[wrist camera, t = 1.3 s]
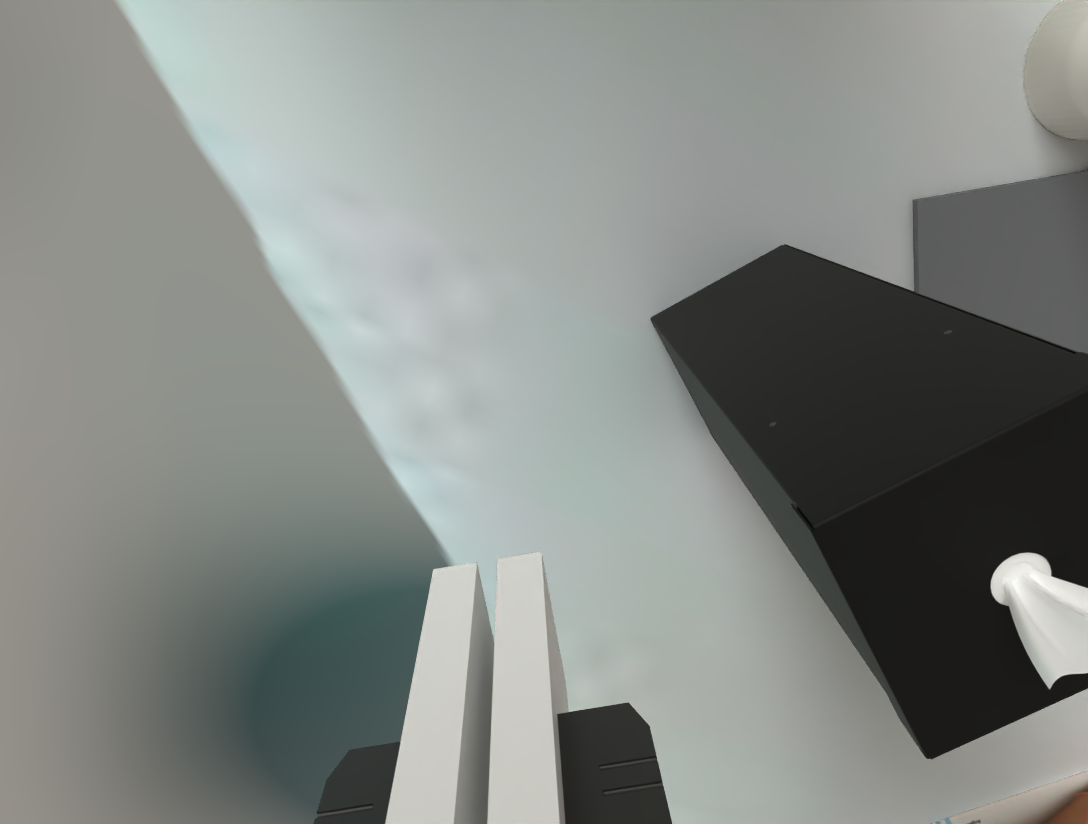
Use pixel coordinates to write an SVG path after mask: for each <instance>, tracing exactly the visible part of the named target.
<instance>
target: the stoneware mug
mask: <svg viewBox="0 0 1088 824" xmlns="http://www.w3.org/2000/svg"><path fill="white" fill-rule="evenodd" d="M1023 86H1024V92H1025V97H1026V100H1027V103H1028V105H1029V107H1030V110H1031V112H1032V113H1033V115H1034V116H1035V118H1036V119H1037V120H1038V121H1039V122H1040V123H1041V124H1042V125H1043V126H1044V127H1045V128H1046V129H1048V130H1049V131H1051V132H1053V133H1054V134H1056V135H1059V136H1062V137H1064V138H1069V139H1080V140H1088V0H1062V1H1061V2H1060V3H1059V4H1058V5H1056V6H1055V7H1054V8H1053V9H1052V10H1051V11H1050V12H1049V14H1048V15H1047V16H1046V17H1045V18H1044V20H1043V21H1042V22H1041V24H1040V25H1039V27H1038V28H1037V30H1036V32H1035V34H1034V35H1033V38H1032V40H1031V42H1030V44H1029V47H1028V50H1027V53H1026V57H1025V62H1024V70H1023Z"/></svg>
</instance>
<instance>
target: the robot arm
mask: <svg viewBox="0 0 1088 824" xmlns="http://www.w3.org/2000/svg"><path fill="white" fill-rule="evenodd" d="M314 824H672V821H671V817H670V812H669V808H668V804H667V800H666V795H665V791H664V787H663V783H662V778H661V774H660V770H659V765H658V762H657V757H656V752H655V748H654V744H653V739H652V735H651V731H650V727H649V725H648V724H647V723H646V722H645V720H644V719H643V718H642V717H641V716H640V715H639V714H638V713H637V712H636V710H635V709H634V708H633V707H632V706H631V705H630V704H629V703H623V704H617V705H611V706H604V707H598V708H592V709H586V710H579V711H573V712H568V701H567V691H566V682H565V677H564V671H563V666H562V661H561V655H560V650H559V644H558V639H557V634H556V628H555V623H554V617H553V612H552V606H551V601H550V596H549V590H548V585H547V579H546V574H545V569H544V563H543V558H542V552H536V553H530V554H524V555H518V556H512V557H506V558H500V559H498V566H497V591H496V617H495V642H494V640H493V635H492V630H491V626H490V621H489V616H488V612H487V607H486V602H485V597H484V593H483V588H482V583H481V579H480V574H479V569H478V565H477V562H475V563H469V564H463V565H457V566H451V567H445V568H439V569H434V570H433V575H432V580H431V585H430V590H429V596H428V601H427V606H426V611H425V617H424V622H423V627H422V633H421V638H420V643H419V648H418V654H417V659H416V664H415V669H414V675H413V680H412V685H411V690H410V696H409V701H408V706H407V712H406V717H405V722H404V728H403V733H402V738H401V742H396V743H389V744H384V745H377V746H371V747H364V748H358V749H352V750H349V751H348V752H347V754H346V755H345V757H344V758H343V759H342V760H341V762H340V763H339V764H338V766H337V767H336V768H335V770H334V771H333V772H332V773H331V775H330V776H329V777H328V779H327V780H326V784H325V787H324V791H323V794H322V797H321V801H320V804H319V807H318V811H317V819H315V821H314Z"/></svg>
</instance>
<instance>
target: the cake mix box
mask: <svg viewBox="0 0 1088 824" xmlns="http://www.w3.org/2000/svg"><path fill="white" fill-rule="evenodd" d="M931 824H1088V771H1085V772H1082V773H1079V774H1076V775H1073V776H1070V777H1067V778H1064V779H1062V780H1059V781H1056V782H1053V783H1050V784H1047V785H1044V786H1041V787H1038V788H1035V789H1032V790H1029V791H1026V792H1023V793H1020V794H1017V795H1014V796H1011V797H1008V798H1005V799H1002V800H999V801H996V802H993V803H990V804H987V805H984V806H981V807H978V808H975V809H972V810H969V811H966V812H963V813H960V814H957V815H955V816H952V817H949V818H946V819H943V820H940V821H937V822H934V823H931Z"/></svg>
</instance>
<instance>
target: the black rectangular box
mask: <svg viewBox="0 0 1088 824" xmlns="http://www.w3.org/2000/svg"><path fill="white" fill-rule="evenodd" d="M651 321H652V323H653V325H654V327H655V329H656V331H657V333H658V335H659V336H660V338H661V340H662V342H663V344H664V346H665V348H666V350H667V352H668V353H669V355H670V357H671V359H672V361H673V363H674V365H675V367H676V369H677V370H678V372H679V374H680V376H681V378H682V380H683V382H684V384H685V386H686V387H687V389H688V391H689V393H690V395H691V397H692V399H693V401H694V402H695V404H696V406H697V408H698V410H699V412H700V414H701V416H702V418H703V419H704V421H705V423H706V425H707V427H708V429H709V431H710V433H711V435H712V436H713V438H714V440H715V441H716V443H717V444H718V446H719V447H720V449H721V450H722V451H723V453H724V454H725V456H726V457H727V459H728V460H729V462H730V463H731V465H732V466H733V468H734V469H735V471H736V472H737V474H738V475H739V477H740V478H741V479H742V481H743V482H744V484H745V485H746V487H747V488H748V490H749V491H750V493H751V494H752V496H753V497H754V499H755V500H756V502H757V503H758V505H759V506H760V507H761V509H762V510H763V512H764V513H765V515H766V516H767V518H768V519H769V521H770V522H771V524H772V525H773V527H774V528H775V530H776V531H777V533H778V534H779V535H780V537H781V538H782V540H783V541H784V543H785V544H786V546H787V547H788V549H789V550H790V552H791V553H792V555H793V556H794V558H795V559H796V561H797V562H798V563H799V565H800V566H801V568H802V569H803V571H804V572H805V574H806V575H807V577H808V578H809V580H810V581H811V583H812V584H813V586H814V587H815V589H816V590H817V592H818V593H819V594H820V596H821V597H822V599H823V600H824V602H825V603H826V605H827V606H828V608H829V609H830V611H831V612H832V614H833V615H834V617H835V618H836V620H837V621H838V622H839V624H840V625H841V627H842V628H843V630H844V631H845V633H846V634H847V636H848V637H849V639H850V640H851V642H852V643H853V645H854V646H855V648H856V649H857V650H858V652H859V653H860V655H861V656H862V658H863V659H864V661H865V662H866V664H867V665H868V667H869V668H870V670H871V671H872V673H873V674H874V676H875V677H876V678H877V680H878V681H879V683H880V684H881V686H882V687H883V689H884V690H885V692H886V693H887V695H888V697H889V699H890V701H891V703H892V705H893V707H894V709H895V711H896V713H897V715H898V717H899V718H900V720H901V722H902V723H903V725H904V726H905V728H906V729H907V731H908V732H909V734H910V735H911V737H912V738H913V740H914V741H915V743H916V744H917V746H918V747H919V749H920V750H921V752H922V753H923V755H924V756H925V757H926V758H927V759H933V758H936V757H938V756H940V755H942V754H944V753H947V752H949V751H951V750H953V749H955V748H958V747H960V746H962V745H964V744H966V743H969V742H971V741H973V740H975V739H977V738H980V737H982V736H984V735H986V734H988V733H991V732H993V731H995V730H997V729H999V728H1002V727H1004V726H1006V725H1008V724H1010V723H1012V722H1015V721H1017V720H1019V719H1021V718H1023V717H1026V716H1028V715H1030V714H1032V713H1034V712H1037V711H1039V710H1041V709H1043V708H1045V707H1048V706H1050V705H1052V704H1054V703H1056V702H1059V701H1061V700H1063V699H1065V698H1067V697H1070V696H1072V695H1074V694H1076V693H1078V692H1081V691H1083V690H1085V689H1087V688H1088V354H1087V353H1084V352H1077V351H1074V350H1071V349H1069V348H1066V347H1063V346H1060V345H1058V344H1055V343H1052V342H1049V341H1047V340H1044V339H1041V338H1039V337H1036V336H1033V335H1030V334H1028V333H1025V332H1022V331H1020V330H1017V329H1014V328H1011V327H1009V326H1006V325H1003V324H1000V323H998V322H995V321H992V320H990V319H987V318H984V317H981V316H979V315H976V314H973V313H971V312H968V311H965V310H962V309H960V308H957V307H954V306H952V305H949V304H946V303H943V302H941V301H938V300H935V299H932V298H930V297H927V296H924V295H922V294H919V293H916V292H913V291H911V290H908V289H905V288H903V287H900V286H897V285H894V284H892V283H889V282H886V281H883V280H881V279H878V278H875V277H873V276H870V275H867V274H864V273H862V272H859V271H856V270H854V269H851V268H848V267H845V266H843V265H840V264H837V263H835V262H832V261H829V260H826V259H824V258H821V257H818V256H815V255H813V254H810V253H807V252H805V251H802V250H799V249H796V248H794V247H791V246H788V245H786V244H785V245H781V246H779V247H778V248H776V249H774V250H772V251H770V252H769V253H767V254H765V255H763V256H761V257H760V258H758V259H756V260H754V261H752V262H751V263H749V264H747V265H745V266H743V267H742V268H740V269H738V270H736V271H734V272H732V273H731V274H729V275H727V276H725V277H723V278H722V279H720V280H718V281H716V282H714V283H713V284H711V285H709V286H707V287H705V288H704V289H702V290H700V291H698V292H696V293H695V294H693V295H691V296H689V297H687V298H686V299H684V300H682V301H680V302H678V303H676V304H675V305H673V306H671V307H669V308H667V309H666V310H664V311H662V312H660V313H658V314H657V315H655V316H653V317H651Z"/></svg>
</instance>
